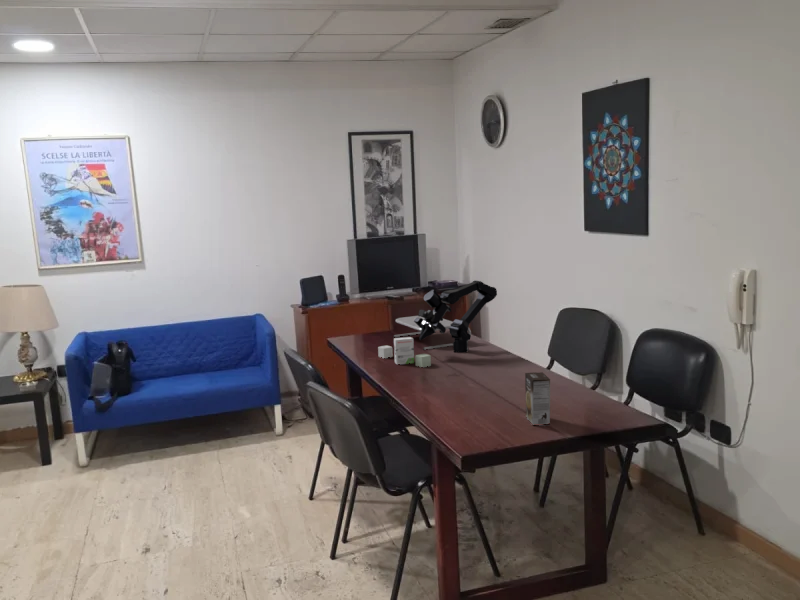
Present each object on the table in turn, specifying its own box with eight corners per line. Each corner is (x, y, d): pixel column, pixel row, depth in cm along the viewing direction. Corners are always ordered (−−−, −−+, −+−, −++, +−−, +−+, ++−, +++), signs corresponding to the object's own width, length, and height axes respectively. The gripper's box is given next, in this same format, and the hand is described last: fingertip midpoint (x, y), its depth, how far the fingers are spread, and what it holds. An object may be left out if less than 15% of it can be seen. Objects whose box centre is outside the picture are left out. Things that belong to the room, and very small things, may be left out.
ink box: (412, 360, 329) (411, 336, 327) (414, 363, 324) (413, 338, 322) (394, 362, 327) (393, 337, 325) (396, 365, 322) (395, 340, 320)
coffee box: (524, 417, 243) (524, 372, 241) (543, 416, 244) (542, 371, 241) (532, 426, 234) (531, 379, 232) (550, 425, 235) (550, 378, 232)
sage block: (424, 364, 322) (424, 353, 322) (430, 366, 318) (430, 355, 317) (415, 365, 320) (415, 355, 319) (422, 367, 316) (421, 357, 315)
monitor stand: (392, 337, 382) (392, 318, 381) (437, 331, 394) (437, 313, 392) (423, 350, 349) (423, 329, 348) (471, 343, 361) (471, 323, 359)
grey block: (387, 355, 342) (386, 345, 341) (392, 357, 338) (392, 347, 337) (378, 356, 339) (378, 346, 338) (384, 358, 335) (383, 348, 334)
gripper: (416, 301, 337) (398, 326, 333) (439, 305, 322) (421, 332, 317) (429, 314, 343) (412, 340, 338) (453, 319, 327) (435, 346, 323)
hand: (420, 339), depth 329 cm, fingers closed
